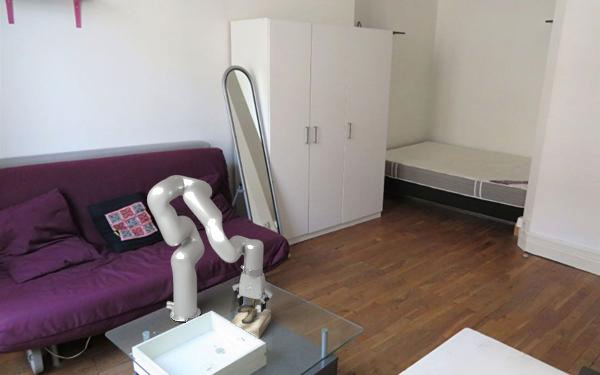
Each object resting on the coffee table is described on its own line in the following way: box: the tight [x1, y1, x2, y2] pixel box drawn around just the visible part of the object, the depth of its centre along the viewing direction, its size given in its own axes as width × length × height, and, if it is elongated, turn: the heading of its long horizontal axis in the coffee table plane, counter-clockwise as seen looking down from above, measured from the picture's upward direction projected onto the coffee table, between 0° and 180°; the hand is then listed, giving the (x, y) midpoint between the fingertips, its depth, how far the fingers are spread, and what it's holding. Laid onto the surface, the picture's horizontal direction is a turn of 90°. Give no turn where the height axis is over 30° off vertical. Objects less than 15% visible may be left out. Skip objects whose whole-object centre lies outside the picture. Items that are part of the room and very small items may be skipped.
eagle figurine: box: [236, 300, 261, 324], centre depth 191 cm, size 8×7×9 cm
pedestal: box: [230, 308, 272, 339], centre depth 194 cm, size 12×14×5 cm
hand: (251, 307), depth 192 cm, fingers open, 9 cm apart
